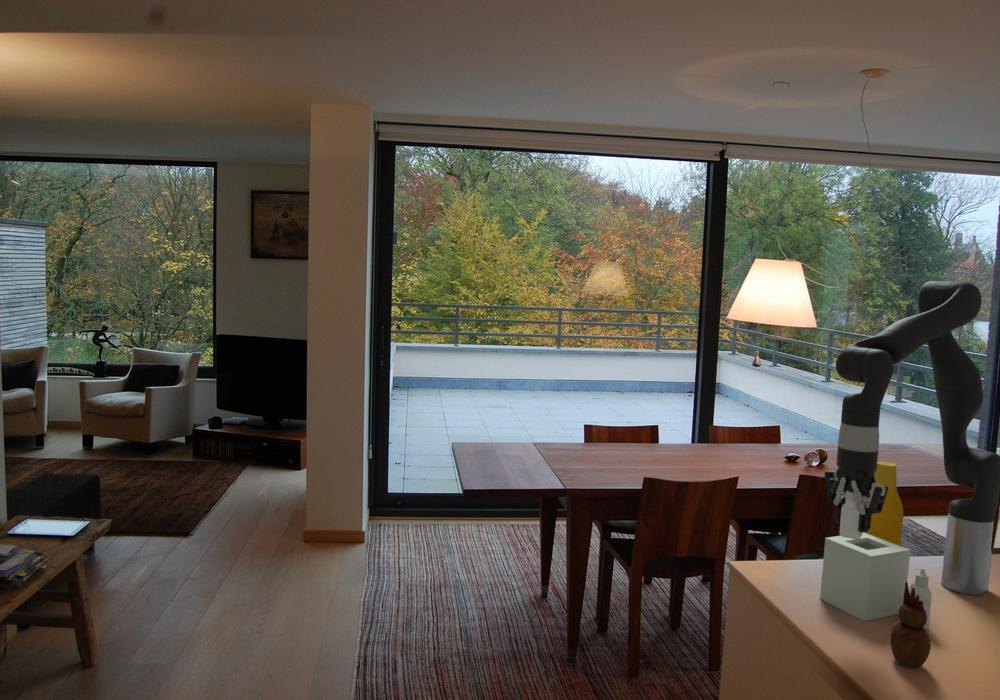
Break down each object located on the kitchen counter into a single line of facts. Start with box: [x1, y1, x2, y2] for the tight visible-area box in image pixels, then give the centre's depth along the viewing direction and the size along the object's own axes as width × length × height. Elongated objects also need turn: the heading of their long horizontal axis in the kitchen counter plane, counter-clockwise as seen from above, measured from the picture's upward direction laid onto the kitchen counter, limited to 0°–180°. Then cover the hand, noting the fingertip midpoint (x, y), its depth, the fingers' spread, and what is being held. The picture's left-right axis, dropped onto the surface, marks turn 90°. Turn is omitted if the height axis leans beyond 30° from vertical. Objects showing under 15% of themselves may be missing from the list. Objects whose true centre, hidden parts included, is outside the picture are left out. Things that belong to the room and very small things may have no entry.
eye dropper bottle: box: [909, 567, 933, 630], centre depth 166 cm, size 4×6×12 cm
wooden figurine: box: [889, 581, 932, 669], centre depth 148 cm, size 7×6×15 cm
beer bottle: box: [863, 461, 904, 546], centre depth 187 cm, size 9×9×29 cm
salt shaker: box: [839, 490, 864, 540], centre depth 162 cm, size 4×4×10 cm
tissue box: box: [819, 532, 911, 622], centre depth 174 cm, size 12×12×14 cm
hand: (851, 527), depth 163 cm, fingers closed on salt shaker, 5 cm apart
